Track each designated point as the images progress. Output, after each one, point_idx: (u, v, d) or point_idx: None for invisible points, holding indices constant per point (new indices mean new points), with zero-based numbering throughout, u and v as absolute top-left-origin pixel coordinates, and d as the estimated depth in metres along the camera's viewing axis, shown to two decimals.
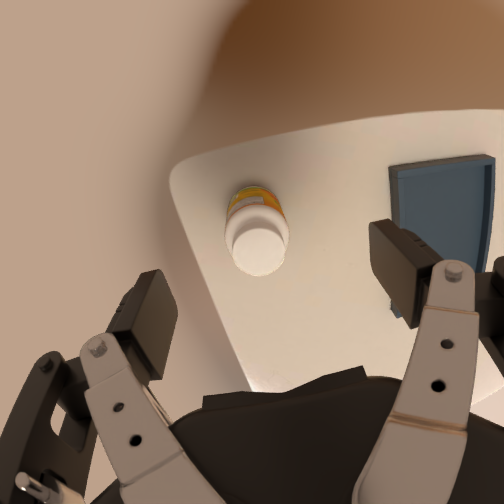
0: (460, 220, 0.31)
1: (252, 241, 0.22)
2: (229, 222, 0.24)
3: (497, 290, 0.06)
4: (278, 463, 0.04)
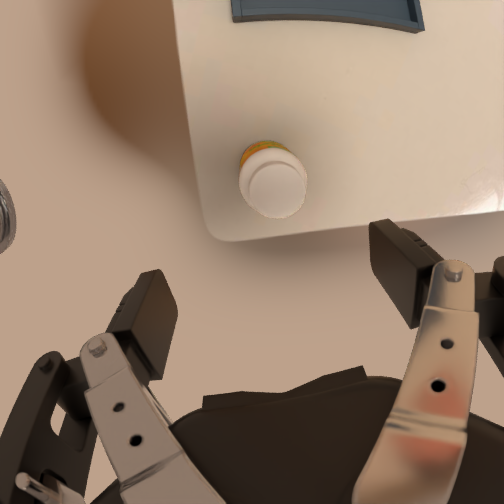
0: None
1: (262, 196, 0.20)
2: (252, 207, 0.24)
3: (497, 290, 0.06)
4: (278, 463, 0.04)
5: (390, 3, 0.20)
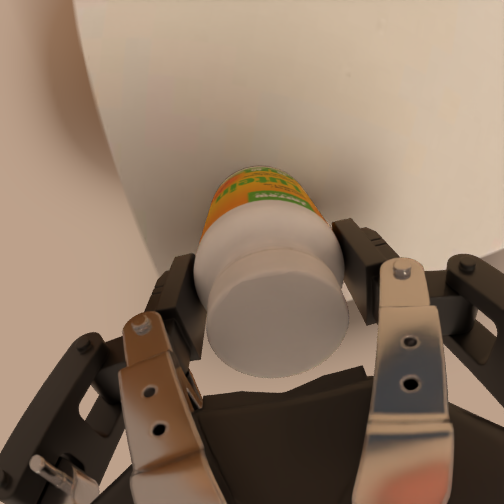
0: None
1: (242, 346, 0.08)
2: None
3: (451, 288, 0.06)
4: (278, 463, 0.04)
5: None
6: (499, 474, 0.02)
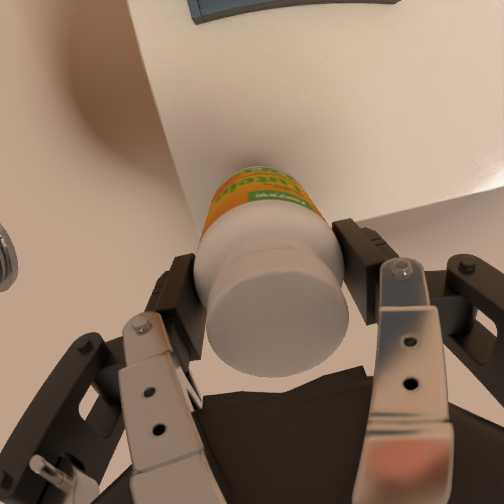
0: None
1: (242, 346, 0.08)
2: None
3: (450, 288, 0.06)
4: (278, 463, 0.04)
5: None
6: (499, 474, 0.02)
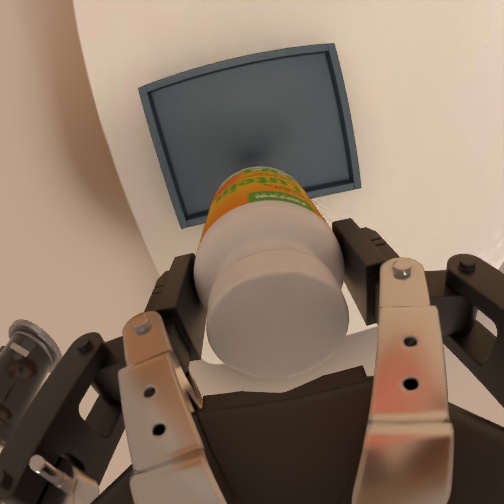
0: (231, 111, 0.27)
1: (243, 347, 0.08)
2: None
3: (450, 288, 0.06)
4: (278, 463, 0.04)
5: (327, 161, 0.30)
6: (499, 474, 0.02)
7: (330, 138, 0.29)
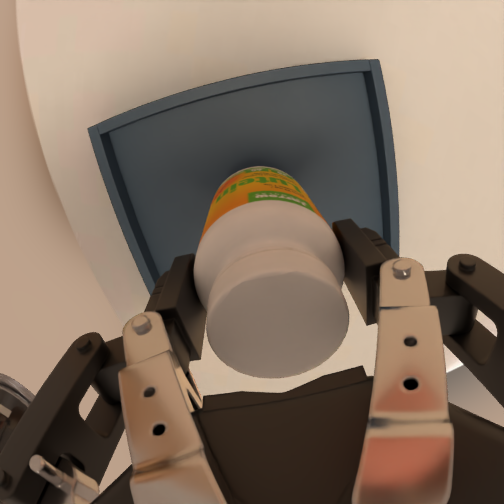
0: (224, 160, 0.19)
1: (242, 346, 0.08)
2: None
3: (451, 288, 0.06)
4: (278, 463, 0.04)
5: None
6: (499, 474, 0.02)
7: (364, 199, 0.21)
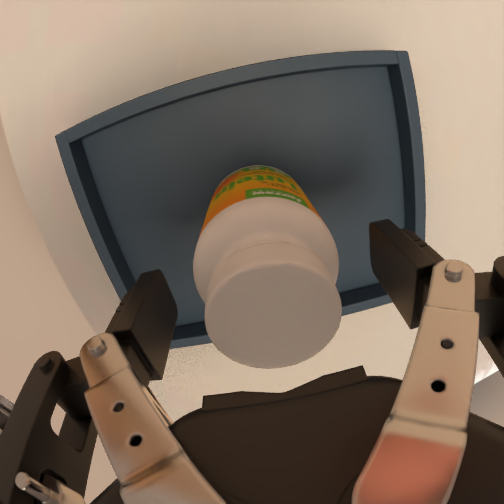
0: (218, 172, 0.16)
1: (239, 336, 0.08)
2: None
3: (497, 290, 0.06)
4: (278, 463, 0.04)
5: None
6: (502, 471, 0.02)
7: (385, 217, 0.17)
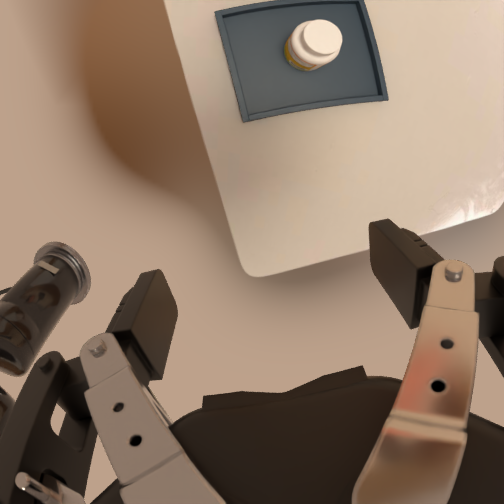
0: (287, 36, 0.30)
1: (313, 39, 0.23)
2: (304, 58, 0.26)
3: (497, 290, 0.06)
4: (278, 463, 0.04)
5: (360, 79, 0.33)
6: (502, 471, 0.02)
7: (362, 63, 0.32)
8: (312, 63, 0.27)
